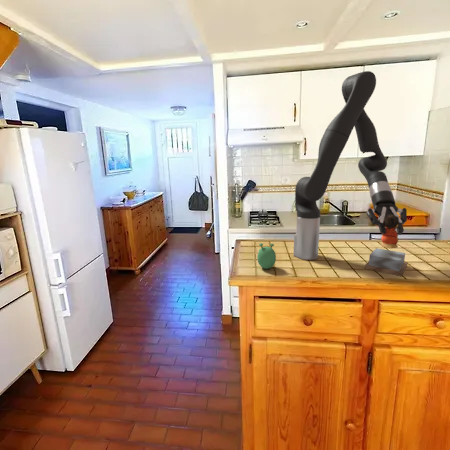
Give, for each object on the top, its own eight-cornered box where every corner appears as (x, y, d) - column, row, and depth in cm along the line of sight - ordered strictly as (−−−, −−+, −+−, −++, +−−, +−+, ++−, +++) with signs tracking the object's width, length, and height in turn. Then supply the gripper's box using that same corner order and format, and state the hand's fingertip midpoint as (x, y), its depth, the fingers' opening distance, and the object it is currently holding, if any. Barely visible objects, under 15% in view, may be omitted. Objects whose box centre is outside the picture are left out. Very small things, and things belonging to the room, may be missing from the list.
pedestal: (364, 268, 107) (366, 255, 106) (372, 259, 116) (373, 247, 115) (401, 276, 100) (403, 262, 99) (407, 265, 109) (408, 252, 108)
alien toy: (273, 263, 114) (274, 239, 112) (277, 271, 106) (277, 245, 104) (256, 264, 114) (256, 240, 112) (258, 271, 107) (258, 246, 104)
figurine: (400, 249, 103) (404, 217, 100) (383, 249, 104) (387, 216, 101) (394, 244, 109) (398, 213, 106) (378, 243, 110) (381, 213, 107)
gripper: (365, 190, 109) (375, 228, 101) (405, 189, 108) (418, 228, 99) (359, 201, 116) (368, 238, 107) (396, 200, 114) (408, 238, 106)
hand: (392, 233), depth 103 cm, fingers closed on figurine, 5 cm apart
